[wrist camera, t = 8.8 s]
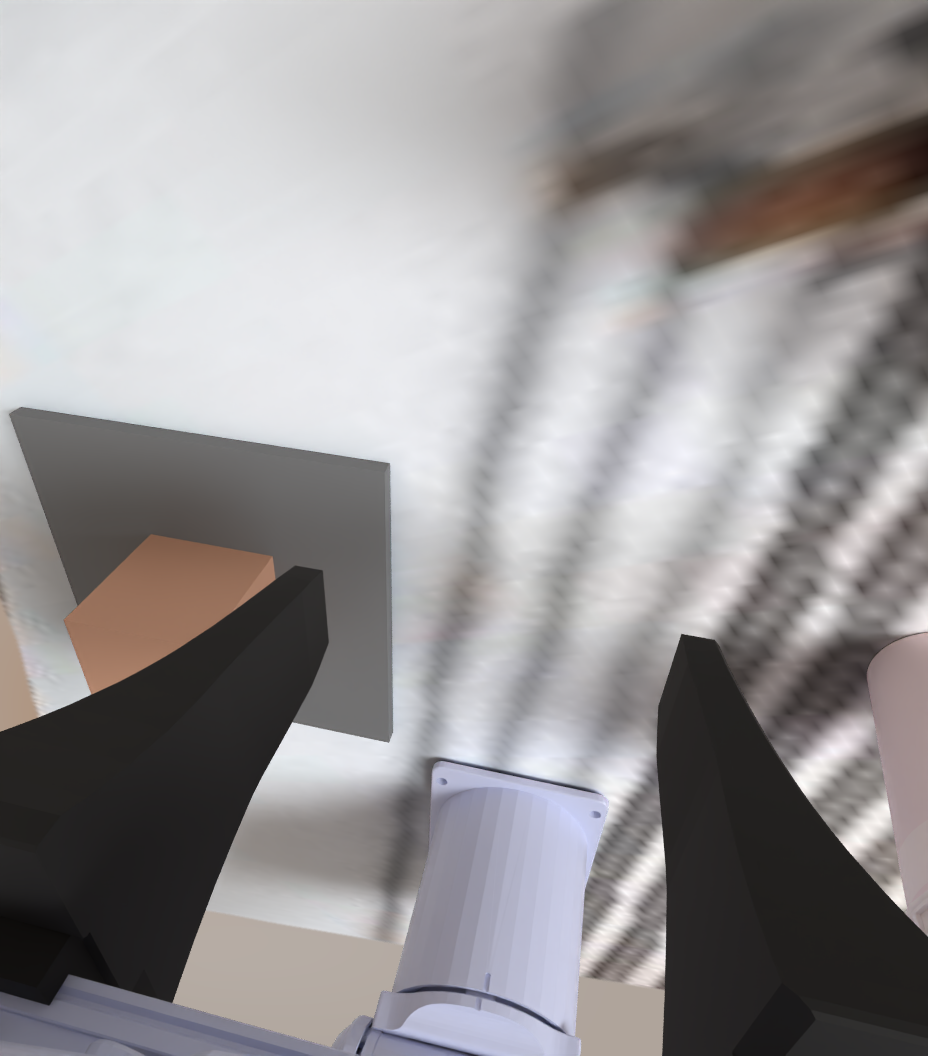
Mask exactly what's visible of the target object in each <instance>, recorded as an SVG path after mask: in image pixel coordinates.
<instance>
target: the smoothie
mask: <svg viewBox="0 0 928 1056" xmlns="http://www.w3.org/2000/svg"><path fill="white" fill-rule="evenodd" d="M867 683H868V688H869V694H870V700H871V705H872V711H873V717H874V722H875V728H876V734H877V740H878V745H879V751H880V757H881V762H882V768H883V774H884V779H885V785H886V791H887V796H888V802H889V808H890V814H891V819H892V825H893V831H894V836H895V842H896V848H897V853H898V860H899V868H900V873H901V878H902V883H903V888H904V893H905V898H906V904H907V910H906V911H905V914H906V915H907V916H908V917H909V918H910V919H911V920H912V921H913V922H914V923H915V924H916V925H917V926H918V927H919V928H920V929H921V930H922V931H923V932H924V933H925V934H926V935H927V936H928V633H922V634H916V635H912V636H908V637H905V638H902V639H900V640H897V641H895V642H893V643H891V644H890V645H888V646H886V647H885V648H884V649H882V650H881V651H880V652H879V653H878V654H877V655H876V656H875V657H874V658H873V660H872V661H871V663H870V665H869V667H868V670H867Z"/></svg>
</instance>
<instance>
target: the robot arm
mask: <svg viewBox="0 0 928 1056" xmlns="http://www.w3.org/2000/svg"><path fill="white" fill-rule="evenodd" d="M328 644H329V638H328V626H327V614H326V602H325V590H324V578H323V570H318V569H312V568H307V567H301V566H296V565H295V566H293V567H292V568H291V569H289V570H288V571H287V572H285V573H284V574H282V575H281V576H280V577H278V578H277V579H276V580H274V581H273V582H272V583H270V584H269V585H268V586H266V587H265V588H264V589H262V590H261V591H260V592H258V593H257V594H256V595H254V596H253V597H252V598H250V599H249V600H248V601H246V602H245V603H244V604H242V605H241V606H240V607H238V608H237V609H235V610H234V611H233V612H231V613H230V614H228V615H227V616H226V617H224V618H223V619H221V620H220V621H219V622H217V623H216V624H214V625H213V626H212V627H210V628H209V629H207V630H206V631H204V632H203V633H201V634H200V635H198V636H196V637H195V638H193V639H192V640H190V641H189V642H187V643H186V644H184V645H183V646H181V647H180V648H178V649H177V650H175V651H173V652H172V653H170V654H168V655H167V656H165V657H163V658H162V659H160V660H158V661H156V662H155V663H153V664H151V665H149V666H148V667H146V668H144V669H142V670H140V671H138V672H137V673H135V674H133V675H131V676H129V677H127V678H125V679H123V680H121V681H119V682H117V683H115V684H113V685H111V686H109V687H107V688H105V689H102V690H100V691H98V692H96V693H94V694H92V695H90V696H88V697H85V698H83V699H81V700H79V701H77V702H75V703H73V704H70V705H68V706H66V707H63V708H61V709H58V710H56V711H53V712H51V713H49V714H46V715H44V716H41V717H39V718H36V719H33V720H31V721H28V722H25V723H23V724H20V725H18V726H15V727H12V728H9V729H7V730H4V731H1V732H0V1056H580V1052H581V1040H580V1038H578V1037H575V1028H576V1013H577V998H578V982H579V967H580V952H581V937H582V922H583V907H584V892H585V887H586V883H587V880H588V877H589V873H590V870H591V867H592V863H593V860H594V856H595V853H596V850H597V846H598V843H599V840H600V836H601V833H602V829H603V826H604V823H605V819H606V816H607V813H608V807H609V801H608V799H607V798H606V797H604V796H603V795H600V794H596V793H591V792H586V791H581V790H577V789H572V788H567V787H563V786H558V785H553V784H549V783H544V782H539V781H534V780H530V779H525V778H520V777H516V776H511V775H506V774H502V773H497V772H492V771H487V770H483V769H478V768H473V767H469V766H464V765H459V764H455V763H450V762H445V761H439V762H436V763H435V764H434V766H433V769H432V780H431V804H430V828H429V853H428V857H427V861H426V864H425V868H424V872H423V876H422V880H421V883H420V887H419V891H418V895H417V898H416V902H415V906H414V910H413V914H412V917H411V921H410V925H409V929H408V933H407V936H406V940H405V944H404V948H403V951H402V956H401V959H400V963H399V967H398V971H397V974H396V978H395V982H394V986H393V989H392V992H389V991H382V992H381V994H380V998H379V1001H378V1005H377V1009H376V1012H375V1016H374V1019H373V1018H371V1017H368V1016H365V1015H362V1016H358V1017H357V1018H356V1019H355V1020H354V1021H353V1022H352V1024H351V1025H349V1026H348V1027H347V1028H346V1029H344V1030H343V1031H342V1032H341V1033H340V1034H339V1035H338V1037H337V1038H336V1040H335V1042H334V1043H333V1045H332V1047H328V1046H324V1045H321V1044H317V1043H314V1042H310V1041H306V1040H303V1039H299V1038H296V1037H292V1036H289V1035H285V1034H281V1033H277V1032H274V1031H271V1030H267V1029H263V1028H259V1027H256V1026H252V1025H249V1024H245V1023H242V1022H238V1021H235V1020H231V1019H227V1018H224V1017H220V1016H217V1015H213V1014H209V1013H206V1012H202V1011H199V1010H195V1009H191V1008H188V1007H184V1006H181V1005H177V1004H173V1003H172V1002H173V1000H174V997H175V994H176V991H177V988H178V985H179V982H180V979H181V977H182V974H183V971H184V968H185V965H186V962H187V959H188V957H189V953H190V951H191V948H192V945H193V942H194V939H195V937H196V934H197V932H198V929H199V926H200V923H201V921H202V918H203V915H204V913H205V910H206V908H207V905H208V902H209V900H210V897H211V894H212V892H213V889H214V887H215V884H216V882H217V879H218V877H219V874H220V872H221V869H222V867H223V864H224V862H225V859H226V857H227V854H228V852H229V849H230V847H231V844H232V842H233V840H234V837H235V835H236V833H237V830H238V828H239V826H240V823H241V821H242V819H243V816H244V814H245V812H246V809H247V807H248V805H249V802H250V800H251V798H252V796H253V794H254V792H255V790H256V788H257V786H258V784H259V782H260V780H261V778H262V776H263V774H264V772H265V770H266V768H267V767H268V765H269V763H270V761H271V759H272V758H273V756H274V754H275V752H276V750H277V749H278V747H279V745H280V743H281V741H282V740H283V738H284V736H285V734H286V732H287V731H288V729H289V727H290V725H291V723H292V722H293V720H294V718H295V716H296V714H297V713H298V711H299V709H300V707H301V705H302V703H303V702H304V700H305V698H306V696H307V694H308V692H309V690H310V689H311V687H312V685H313V682H314V680H315V677H316V675H317V672H318V670H319V668H320V665H321V662H322V660H323V657H324V654H325V652H326V649H327V646H328ZM657 768H658V781H659V793H660V805H661V817H662V828H663V840H664V852H665V864H666V884H667V914H666V966H665V1002H664V1026H663V1052H662V1056H928V936H927V935H926V934H925V933H924V932H923V931H922V930H921V929H920V928H919V927H918V926H917V925H916V924H915V923H914V922H913V921H912V920H911V919H910V918H909V917H908V916H907V915H906V914H905V913H904V912H903V911H902V910H901V909H900V908H899V907H898V906H897V905H896V904H895V903H894V902H893V901H892V900H891V899H890V898H889V896H888V895H887V894H886V893H885V892H884V891H883V890H882V889H881V888H880V887H879V885H878V884H877V883H876V882H875V881H874V880H873V879H872V878H871V876H870V875H869V874H868V873H867V872H866V871H865V870H864V869H863V867H862V866H861V865H860V864H859V863H858V862H857V861H856V860H855V858H854V857H853V856H852V855H851V854H850V853H849V852H848V851H847V849H846V848H845V847H844V846H843V844H842V843H841V842H840V841H839V839H838V838H837V837H836V836H835V834H834V833H833V832H832V831H831V830H830V828H829V827H828V826H827V824H826V823H825V822H824V820H823V819H822V818H821V816H820V815H819V814H818V812H817V811H816V810H815V809H814V807H813V806H812V805H811V803H810V802H809V800H808V799H807V798H806V796H805V795H804V793H803V792H802V791H801V789H800V788H799V786H798V785H797V783H796V782H795V780H794V779H793V777H792V776H791V774H790V773H789V771H788V770H787V768H786V767H785V765H784V764H783V762H782V761H781V759H780V758H779V756H778V754H777V753H776V751H775V750H774V748H773V746H772V745H771V743H770V742H769V740H768V738H767V736H766V735H765V733H764V731H763V730H762V728H761V726H760V724H759V723H758V721H757V719H756V717H755V716H754V714H753V712H752V711H751V709H750V707H749V705H748V703H747V701H746V700H745V698H744V696H743V694H742V692H741V690H740V688H739V686H738V684H737V682H736V680H735V678H734V676H733V674H732V672H731V670H730V668H729V666H728V664H727V662H726V660H725V658H724V656H723V654H722V652H721V649H720V647H719V645H718V644H717V643H716V641H715V640H712V639H706V638H701V637H695V636H689V635H684V634H681V637H680V641H679V644H678V647H677V650H676V653H675V656H674V659H673V662H672V666H671V669H670V672H669V675H668V678H667V681H666V684H665V687H664V690H663V694H662V697H661V700H660V703H659V706H658V727H657Z"/></svg>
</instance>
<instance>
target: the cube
mask: <svg viewBox="0 0 928 1056" xmlns="http://www.w3.org/2000/svg"><path fill="white" fill-rule="evenodd" d="M274 580H276V579H275V571H274V563H273V556H269V555H263V554H257V553H252V552H246V551H241V550H235V549H230V548H224V547H219V546H213V545H208V544H202V543H197V542H191V541H186V540H180V539H175V538H169V537H164V536H158V535H153V534H151V535H150V536H149V537H148V538H147V539H146V540H145V541H143V542H142V543H141V544H140V545H139V546H138V547H137V548H136V549H135V550H134V551H133V552H132V553H131V554H130V555H129V556H128V557H127V558H126V559H125V560H124V561H123V562H122V563H121V564H120V565H119V566H118V567H117V568H116V569H115V570H114V571H113V572H112V573H111V574H110V575H109V576H108V577H107V578H106V579H105V580H104V581H103V582H102V583H101V584H100V585H99V586H98V587H97V588H96V589H95V590H94V591H93V592H92V593H91V594H90V595H89V596H88V597H87V598H86V599H85V600H84V601H82V602H81V603H80V604H79V605H78V606H77V607H76V608H75V609H74V610H73V611H72V612H71V613H70V614H69V615H68V616H67V617H66V618H65V619H64V622H65V625H66V627H67V630H68V633H69V635H70V638H71V641H72V643H73V646H74V649H75V651H76V654H77V657H78V659H79V662H80V665H81V667H82V670H83V673H84V676H85V678H86V681H87V684H88V686H89V689H90V692H91V694H94V693H96V692H98V691H100V690H102V689H105V688H107V687H109V686H111V685H113V684H115V683H117V682H119V681H121V680H123V679H125V678H127V677H129V676H131V675H133V674H135V673H137V672H138V671H140V670H142V669H144V668H146V667H148V666H149V665H151V664H153V663H155V662H156V661H158V660H160V659H162V658H163V657H165V656H167V655H168V654H170V653H172V652H173V651H175V650H177V649H178V648H180V647H181V646H183V645H184V644H186V643H187V642H189V641H190V640H192V639H193V638H195V637H196V636H198V635H200V634H201V633H203V632H204V631H206V630H207V629H209V628H210V627H212V626H213V625H214V624H216V623H217V622H219V621H220V620H221V619H223V618H224V617H226V616H227V615H228V614H230V613H231V612H233V611H234V610H235V609H237V608H238V607H240V606H241V605H242V604H244V603H245V602H246V601H248V600H249V599H250V598H252V597H253V596H254V595H256V594H257V593H258V592H260V591H261V590H262V589H264V588H265V587H266V586H268V585H269V584H270V583H272V582H273V581H274Z"/></svg>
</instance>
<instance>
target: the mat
mask: <svg viewBox="0 0 928 1056" xmlns="http://www.w3.org/2000/svg"><path fill="white" fill-rule="evenodd" d="M9 415H10V418H11V421H12V423H13V426H14V429H15V432H16V435H17V437H18V440H19V443H20V446H21V448H22V451H23V454H24V457H25V460H26V462H27V465H28V468H29V471H30V474H31V476H32V479H33V482H34V485H35V488H36V490H37V493H38V496H39V499H40V501H41V504H42V507H43V510H44V513H45V515H46V518H47V521H48V524H49V527H50V529H51V532H52V535H53V538H54V541H55V543H56V546H57V549H58V552H59V554H60V557H61V560H62V563H63V566H64V568H65V571H66V574H67V577H68V580H69V582H70V585H71V588H72V591H73V594H74V596H75V599H76V602H77V605H79V604H80V603H81V602H82V601H84V600H85V599H86V598H87V597H88V596H89V595H90V594H91V593H92V592H93V591H94V590H95V589H96V588H97V587H98V586H99V585H100V584H101V583H102V582H103V581H104V580H105V579H106V578H107V577H108V576H109V575H110V574H111V573H112V572H113V571H114V570H115V569H116V568H117V567H118V566H119V565H120V564H121V563H122V562H123V561H124V560H125V559H126V558H127V557H128V556H129V555H130V554H131V553H132V552H133V551H134V550H135V549H136V548H137V547H138V546H139V545H140V544H141V543H142V542H143V541H145V540H146V539H147V538H148V537H149V536H150V535H151V534H153V535H158V536H164V537H169V538H175V539H180V540H186V541H191V542H197V543H202V544H208V545H213V546H219V547H224V548H230V549H235V550H241V551H246V552H252V553H257V554H263V555H269V556H273V563H274V571H275V579H277V578H278V577H280V576H281V575H282V574H284V573H285V572H287V571H288V570H289V569H291V568H292V567H293V566H295V565H296V566H301V567H307V568H312V569H318V570H323V578H324V590H325V602H326V614H327V626H328V638H329V644H328V646H327V649H326V652H325V654H324V657H323V660H322V662H321V665H320V668H319V670H318V672H317V675H316V677H315V680H314V682H313V685H312V687H311V689H310V690H309V692H308V694H307V696H306V698H305V700H304V702H303V703H302V705H301V707H300V709H299V711H298V713H297V714H296V716H295V718H294V720H293V722H294V723H299V724H303V725H308V726H313V727H318V728H322V729H327V730H332V731H336V732H341V733H346V734H351V735H355V736H360V737H365V738H370V739H374V740H379V741H384V742H389V741H390V738H391V736H392V733H393V698H392V606H391V515H390V464H389V463H383V462H376V461H370V460H363V459H356V458H350V457H343V456H337V455H330V454H324V453H317V452H311V451H304V450H298V449H291V448H285V447H278V446H272V445H265V444H258V443H252V442H245V441H239V440H232V439H226V438H219V437H213V436H206V435H200V434H193V433H187V432H180V431H173V430H167V429H160V428H154V427H147V426H141V425H134V424H128V423H121V422H115V421H108V420H102V419H95V418H88V417H82V416H75V415H69V414H62V413H56V412H49V411H43V410H36V409H30V408H23V407H21V408H19V409H17V410H16V411H14V412H12V413H10V414H9Z"/></svg>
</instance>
